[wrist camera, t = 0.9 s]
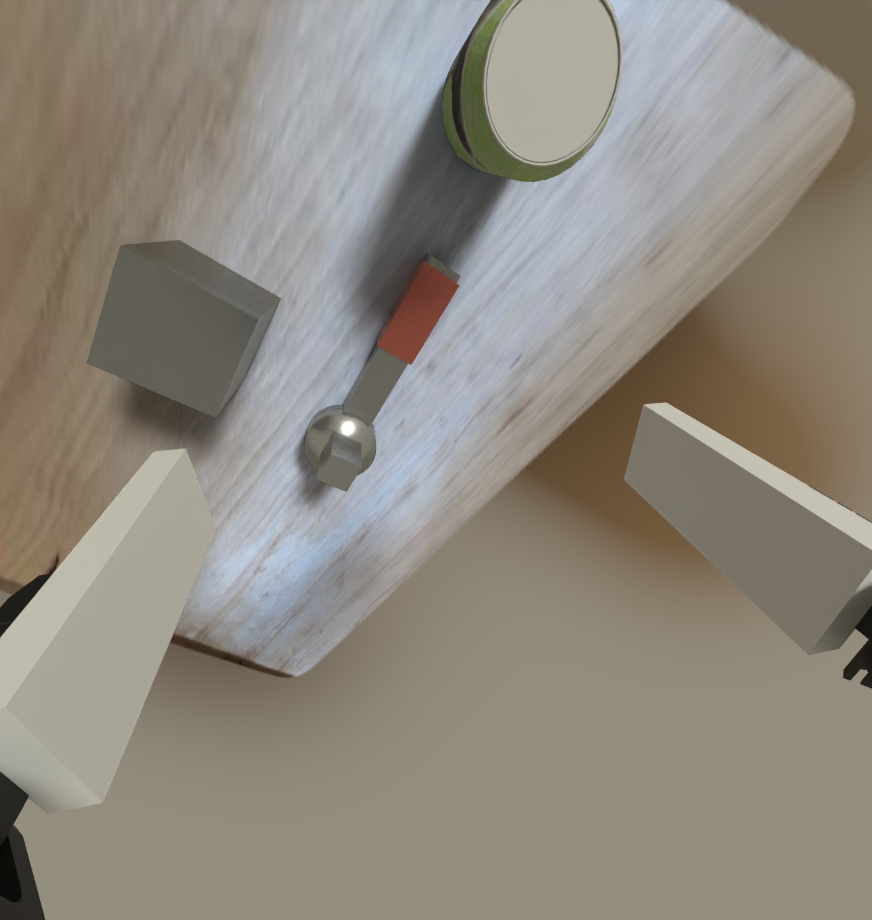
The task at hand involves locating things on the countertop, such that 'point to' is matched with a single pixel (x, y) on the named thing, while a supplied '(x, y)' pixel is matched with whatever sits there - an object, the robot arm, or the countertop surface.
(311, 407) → the countertop surface
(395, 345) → the ratchet
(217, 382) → the brushed steel cube
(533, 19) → the beverage can
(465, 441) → the countertop surface
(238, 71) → the countertop surface
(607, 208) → the countertop surface
